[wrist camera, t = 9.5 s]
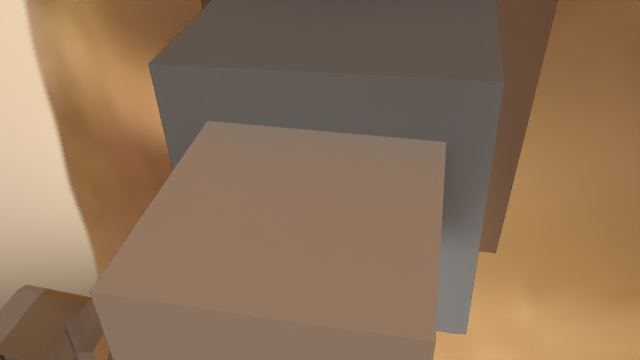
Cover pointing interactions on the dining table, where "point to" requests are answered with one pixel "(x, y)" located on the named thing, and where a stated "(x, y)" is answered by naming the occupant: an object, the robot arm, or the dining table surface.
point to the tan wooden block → (512, 99)
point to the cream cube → (283, 251)
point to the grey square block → (353, 92)
